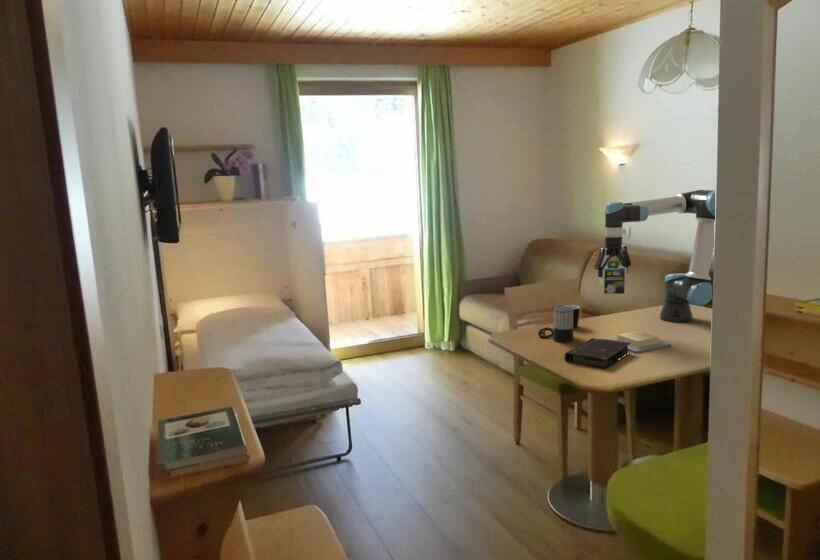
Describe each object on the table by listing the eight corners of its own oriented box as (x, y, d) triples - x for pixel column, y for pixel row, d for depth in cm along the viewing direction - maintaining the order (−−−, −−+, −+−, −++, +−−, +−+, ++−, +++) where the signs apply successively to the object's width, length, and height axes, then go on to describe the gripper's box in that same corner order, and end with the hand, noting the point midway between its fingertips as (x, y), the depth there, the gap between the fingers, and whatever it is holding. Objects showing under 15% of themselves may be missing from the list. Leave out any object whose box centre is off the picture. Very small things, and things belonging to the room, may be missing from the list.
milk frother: (574, 343, 273) (575, 311, 270) (539, 343, 276) (539, 311, 273) (571, 334, 287) (571, 303, 284) (537, 334, 290) (537, 304, 287)
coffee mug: (580, 329, 295) (580, 309, 293) (562, 329, 297) (562, 309, 295) (578, 323, 306) (578, 303, 304) (561, 322, 308) (561, 303, 306)
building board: (640, 336, 279) (640, 327, 278) (670, 346, 263) (671, 337, 262) (605, 342, 271) (605, 334, 271) (635, 353, 255) (635, 344, 254)
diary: (564, 363, 249) (563, 351, 248) (590, 348, 268) (590, 337, 267) (607, 371, 237) (607, 358, 236) (632, 354, 255) (632, 342, 255)
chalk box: (621, 289, 286) (621, 258, 283) (624, 293, 277) (625, 261, 274) (600, 290, 287) (601, 259, 285) (604, 294, 279) (604, 262, 276)
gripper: (628, 233, 285) (627, 278, 289) (586, 237, 276) (586, 284, 280) (640, 234, 279) (639, 280, 283) (597, 239, 269) (597, 286, 273)
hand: (612, 282), depth 281 cm, fingers closed on chalk box, 12 cm apart
